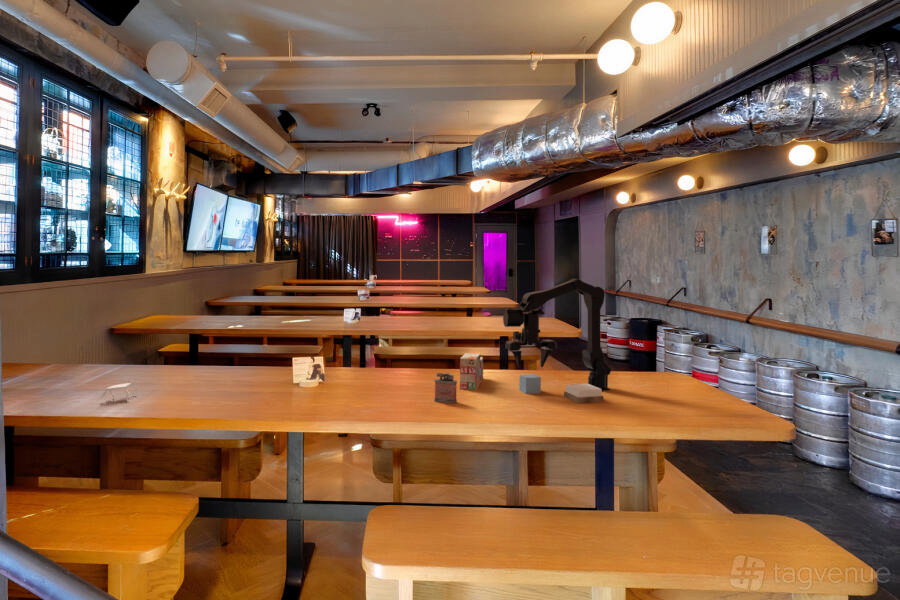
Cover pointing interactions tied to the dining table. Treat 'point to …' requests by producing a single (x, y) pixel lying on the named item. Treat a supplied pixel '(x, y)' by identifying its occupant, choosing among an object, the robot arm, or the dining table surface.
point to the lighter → (445, 388)
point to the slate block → (530, 384)
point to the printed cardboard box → (471, 371)
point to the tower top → (583, 390)
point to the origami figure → (120, 388)
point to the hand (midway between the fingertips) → (530, 367)
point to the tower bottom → (583, 398)
